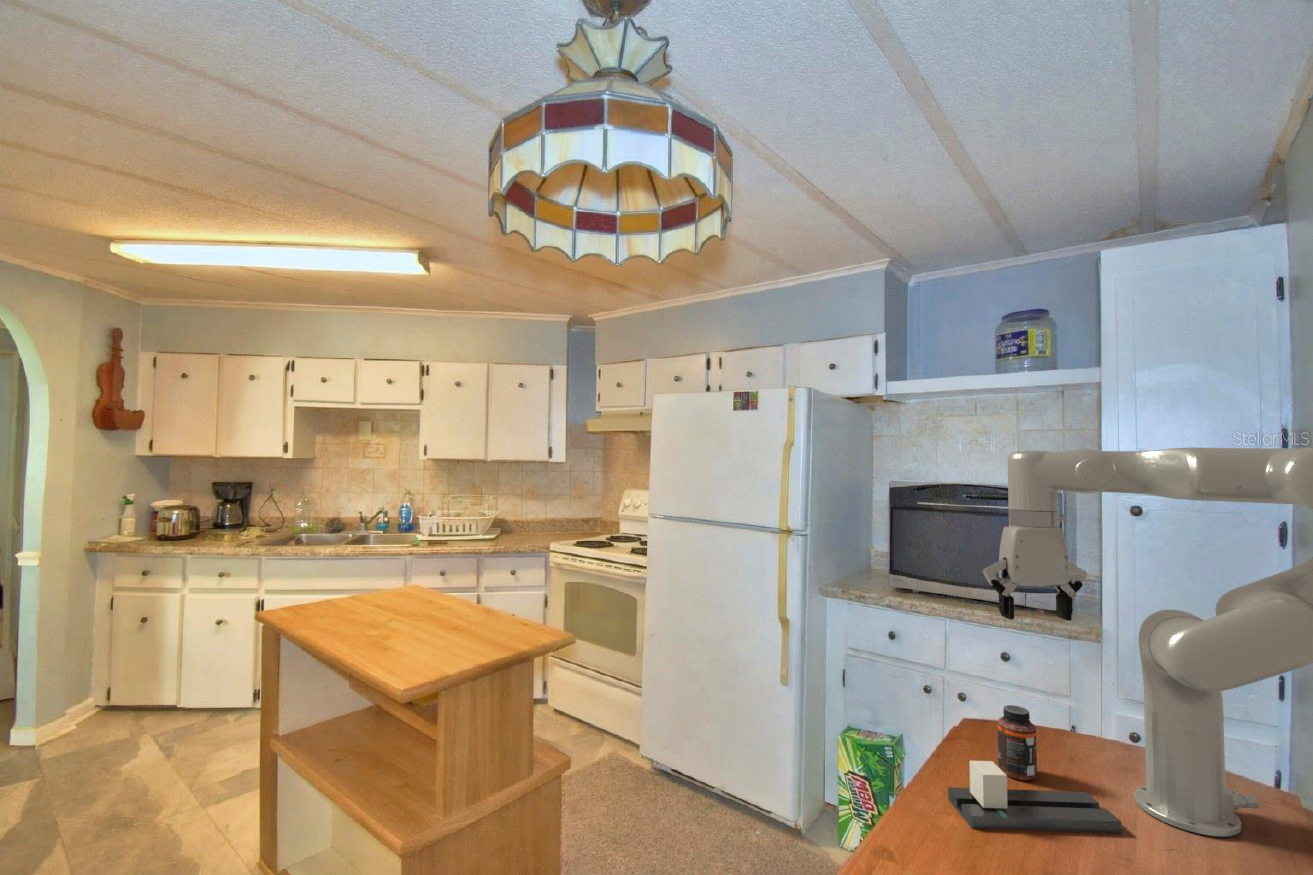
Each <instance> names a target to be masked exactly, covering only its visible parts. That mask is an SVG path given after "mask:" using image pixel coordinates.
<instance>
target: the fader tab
mask: <svg viewBox="0 0 1313 875" xmlns="http://www.w3.org/2000/svg"><path fill="white" fill-rule="evenodd" d="M969 788H970V793H971V794H972V795H973V796H974V797H975V798H976V800H977V801H978V802H979V803H980V804H981V805H982V807H983V808H1005V809H1007V789H1008V776H1007V775H1006V774H1005V773H1004V772H1003V771H1002V770H1001V769H1000V768H999V765H997V764H996V763H995V762H994V761H993V760H969Z"/></svg>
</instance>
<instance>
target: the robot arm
mask: <svg viewBox="0 0 1313 875" xmlns="http://www.w3.org/2000/svg"><path fill="white" fill-rule="evenodd" d="M1007 489H1008V490H1007V494H1008V496H1007V497H1008V500H1007V501H1008V506H1007V507H1008V526H1004V527H1003V529H1002V533H1001V540H1000V544H999V552H998V553H999V554H998V560H997V561H996V562H994V563H991V564H990V565H988V566H986V567H984V568H983V569H982V574H983V575H984V577H985V579H986V580H987V582H988V583H987V584H988V585H989V586H990V587H991V588H992V589H993V590H994V592H996V593H997V594H998V611H999V613H1000V615H1001V617H1003V618H1005V619H1006V620H1007V619H1008V620H1015V599H1014V598H1015V597H1013V596H1012V593H1013V592H1014V591H1015V589H1016V588H1017V587H1018V586H1022V587H1025V586H1026V587H1054V588H1055V589H1056V590H1057V591H1058V592H1059V593H1056V595H1055V605H1056V606H1055V613H1056V617H1058V618H1060V619H1062V620H1064V621H1069V622H1071V621H1072V620H1073V619H1072V615H1073V607H1074V606H1073V598H1075V597H1076V595H1077V593H1078V591H1080V590H1081V589H1082V588H1083V584H1084V582H1085V581H1086V578H1087V576H1088V572H1087V571H1086V570H1085V569H1082V568H1080V567H1079V566H1077V565H1075V564H1073V563H1071V562H1070V561H1069V552H1068V546H1067V542H1066V537H1065V533H1064V530H1063V529H1062V528H1060V525H1061V522H1062V523H1064V522H1065V521H1066V518H1067V516H1066V515H1065V514H1063V513H1060V511H1059V491H1063V492H1064V491H1065V492H1072V493H1078V494H1079V493H1080V494H1089V495H1090V494H1096V493H1115V494H1116V493H1118V494H1136V495H1148V496H1157V497H1163V498H1168V499H1175V500H1187V501H1203V502H1204V501H1207V502H1229V503H1230V502H1235V503H1253V504H1255V503H1257V504H1277V505H1278V504H1279V505H1280V504H1281V505H1297V506H1298V505H1299V506H1305V507H1307V508H1308V509H1309V510H1311V511H1312V512H1313V447H1303V448H1299V447H1298V448H1297V447H1296V448H1292V447H1291V448H1288V447H1287V448H1274V447H1273V448H1271V447H1270V448H1269V447H1268V448H1264V447H1263V448H1262V447H1261V448H1258V447H1256V448H1253V447H1251V448H1250V447H1248V448H1247V447H1246V448H1245V447H1243V448H1242V447H1241V448H1240V447H1195V446H1194V447H1192V446H1191V447H1174V448H1166V449H1165V448H1164V449H1156V450H1155V449H1154V450H1121V451H1120V450H1116V451H1115V450H1096V449H1089V448H1084V449H1083V448H1082V449H1074V450H1067V451H1066V450H1065V451H1054V452H1053V451H1052V452H1051V451H1049V450H1048V451H1047V450H1017V451H1013V452H1011V453H1009V455H1008V457H1007ZM997 573H998V576H999V578H1000V579H1001V581H999V580H998V579H997V576H996V574H997ZM1070 573H1071V574H1072V576H1073V577H1072V579H1071V580H1070ZM1214 609H1215V610H1214V611H1215V616H1213V617H1210V618H1208V619H1202V618H1201V617H1199V616H1197V615H1195V614H1192V613H1191V612H1187V611H1183V610H1179V609H1161V610H1158V611H1155V612H1153V613H1151V614H1150V615H1148V616H1147V617H1146V618H1145V619H1144V620H1143V621H1142V623H1141V625H1140V628H1139V631H1138V647H1139V650H1138V651H1139V655H1140V656H1139V657H1140V663H1141V669H1142V671H1141V672H1142V680H1143V681H1142V683H1143V699H1144V700H1143V702H1144V704H1143V709H1144V710H1143V712H1144V714H1143V715H1144V716H1143V717H1144V744H1145V745H1144V747H1145V753H1144V754H1145V781H1146V784H1145V785H1142V786H1138V787H1137V788H1136V789H1135V790H1134V800H1135V802H1136V804H1137V805H1138V806H1139V808H1141V809H1142V810H1144V812H1146V813H1147V814H1149V815H1150V816H1152V817H1154V818H1156V819H1157V820H1160V821H1161V822H1163V823H1166V824H1168V825H1170V826H1173V827H1175V828H1178V829H1181V830H1185V831H1188V832H1189V833H1190V832H1191V833H1195V834H1199V835H1204V836H1209V837H1217V838H1223V837H1224V838H1225V837H1228V838H1229V837H1234V836H1236V835H1239V834H1240V833H1241V832H1242V822H1241V819H1240V818H1239V817H1238V815H1237V814H1235V811H1237V810H1239V809H1240V808H1243V809H1259V808H1260V802H1259V799H1258V798H1257V797H1256V796H1255V795H1254V794H1251V793H1250V794H1249V793H1235V791H1234V790H1233V789H1232V787H1228V786H1227V785H1226V783H1227V782H1226V762H1225V761H1226V758H1225V756H1226V755H1225V731H1224V730H1225V728H1224V727H1225V726H1224V722H1225V720H1224V716H1225V715H1224V704H1223V694H1222V692H1223V691H1229V690H1233V689H1237V688H1241V687H1244V686H1247V685H1250V684H1254V683H1257V682H1260V681H1263V680H1267V679H1270V678H1273V677H1276V676H1279V675H1282V674H1286V673H1289V672H1292V671H1295V670H1298V669H1301V668H1304V667H1306V666H1309V665H1311V664H1313V556H1312V557H1311V558H1309V559H1308V560H1307V561H1304V562H1303V563H1300V564H1297V565H1296V566H1293V567H1291V568H1289V569H1287V570H1284V571H1282V572H1279V573H1276V574H1274V575H1270V576H1267V577H1264V578H1261V579H1259V580H1256V581H1254V582H1251V583H1248V584H1245V585H1241V586H1238V587H1236V588H1235V587H1234V588H1233V589H1230V590H1229V591H1227V592H1225V593H1224V594H1223V595H1221V596H1220V597H1219V599H1218V600H1217V601H1216V604H1215V608H1214ZM1226 786H1227V787H1226Z"/></svg>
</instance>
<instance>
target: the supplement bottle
mask: <svg viewBox="0 0 1313 875" xmlns="http://www.w3.org/2000/svg"><path fill="white" fill-rule="evenodd" d="M1002 715H1003V716H1001V717H999V719H998V720H997V755H998V756H997V762H998V767H999V768H1000V769H1001V770H1002V771H1003V772H1004V773H1005V774H1006V775H1007V777H1009V778H1012V779H1014V780H1018V781H1028V782H1029V781H1032V780H1035V779H1036V778H1037V775H1038V765H1037V764H1038V761H1037V760H1038V759H1037V758H1038V757H1037V755H1038V754H1037V728H1036V726H1035V725H1034V724H1033V723H1032V721H1031V720H1030V718H1031V717H1030V710H1028V709H1027V708H1025V707H1022V706H1019V705H1011V704H1009V705H1004V706H1003V712H1002Z"/></svg>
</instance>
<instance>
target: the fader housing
mask: <svg viewBox="0 0 1313 875" xmlns="http://www.w3.org/2000/svg"><path fill="white" fill-rule="evenodd" d="M947 799H948V800H949V802H950V803H951V804H952V806H953V807H954V808H955V809H956V811H957V812H958V813H959V814H960V816H961V817H962V818H963V819H964V821H965V823H966V824H967V825H968V826H969V827H970V828H971V829H981V830H982V829H984V830H985V829H988V830H1010V831H1011V830H1012V831H1013V830H1015V831H1040V832H1063V833H1064V832H1068V833H1069V832H1070V833H1089V834H1090V833H1091V834H1092V833H1093V834H1094V833H1095V834H1097V833H1098V834H1122V832H1123V830H1122V826H1123V825H1122V824H1123V823H1122V821H1121V820H1120V819H1119V818H1118V817H1117V816H1116V815H1114V814H1113V813H1112V812H1111V811H1110V810H1108V809H1107V808H1100V803H1099V801H1097V800H1096V799H1095V798H1094V797H1092V795H1090V794H1089V793H1087V792H1086V791H1071V790H1070V791H1065V790H1036V789H1035V790H1034V789H1033V790H1032V789H1011V788H1007V809H1005V808H983V807H982V805H981V804H980V803H979V802H978V801H977V800H976V798H975V797H974V796H973V795H972V794H971V793H970V787H947Z"/></svg>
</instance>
